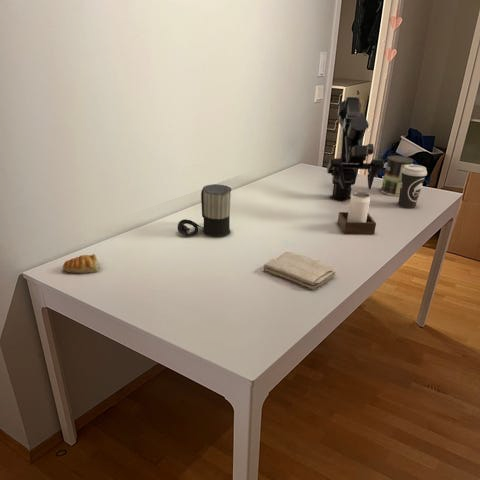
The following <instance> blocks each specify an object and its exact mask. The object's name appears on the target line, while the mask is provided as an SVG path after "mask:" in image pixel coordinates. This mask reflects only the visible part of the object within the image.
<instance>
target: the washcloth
mask: <svg viewBox="0 0 480 480" xmlns="http://www.w3.org/2000/svg"><path fill="white" fill-rule="evenodd" d="M262 267H263V268H262V269H263V270H264V271H266V272H268V273H270V274H272V275H275V276H277V277H281V278H283V279H287V280H288V281H291V282H294V283H295V284H298V285H300V286H302V287H306V288H309V290H312V291H313V290H315V289H317V288H318V287H320V286H323V285H324V284H325V283H326V282H328V281H330V280H331V279H333V278H334V277H335V276H336V271H335V270H333V269H334V268H333V266H329V265H326V264H324V263H322V261H321V260H317V259H313V258H310V257H308V256H305V255H301V254H297V253H295V252H292V251H285V252H284V253H282V254H280V255H279V256H278V257H277V258H274V259H271V260H270V261H267V262H266V263H264V264H263V266H262Z"/></svg>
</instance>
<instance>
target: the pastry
mask: <svg viewBox="0 0 480 480" xmlns="http://www.w3.org/2000/svg"><path fill="white" fill-rule="evenodd" d="M62 268H63V270H64V271H66V272H68V273H72V274H74V273H75V274H87V273H90V274H92V273H95V272H98V271H99V261H98V259H97V255H96V254H95V253H93V254H82V255H81V254H80V255H79V256H76V257H74V258H70V259H68V260H66V261H65V262H64V263H63V265H62Z"/></svg>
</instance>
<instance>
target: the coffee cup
mask: <svg viewBox="0 0 480 480" xmlns="http://www.w3.org/2000/svg"><path fill="white" fill-rule="evenodd" d="M401 172H402V179H401V187H400V194H399V196H398V207H401V208H404V209H415V208H416V205H417V202H418V199H419V196H420V193H421V190H422V187H423V184H424V181H425V178H426V176H427V175H428V171H427V167H425V166H423V165H420V164H412V165H405V166H404V168H403V169H402V171H401Z"/></svg>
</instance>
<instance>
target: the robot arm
mask: <svg viewBox="0 0 480 480" xmlns="http://www.w3.org/2000/svg"><path fill="white" fill-rule="evenodd" d="M361 109H362V103H361V102H360V97H358V96H348V97H345V100H343V101H341V102H340V103H339V105H338V109H337V117H338V123H339V125H340V126H341V142H340V143H341V144H340V155H339V156H340V157H339V158H338V157H337V158H336V157H332V158H330V160H329V162H328V164H327V167H326V171H327V174H330V176H331V182H332V185H333V188H332V194H331V195H329V198H330V199H333V200H337V201H339V202H344V201H347V200H350V199H351V197H352V196H351V194H352V186H354V185H356V181H357V176H358V172H357V170H367V173H368V174H367V188H368V190H371V189H372V186H373V182H374V179H375V177H377V175H380V174H381V172H382V171H383V169H384V168H385V161H384V160H383V159H379V158H377V159H376V158H372V159H371V161H370V162H367V163H365V161H366V160H367V157H369V156H370V155H371V156H372V155H373V154H374V151H375V146H374V144H373V143H367V145H366V144H365V145H363V138H364V137H365V134H366V131H367V130H368V129H369V122H368V120H367V118H366V117H365V114H364V113H362V112H361V111H362V110H361Z"/></svg>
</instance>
